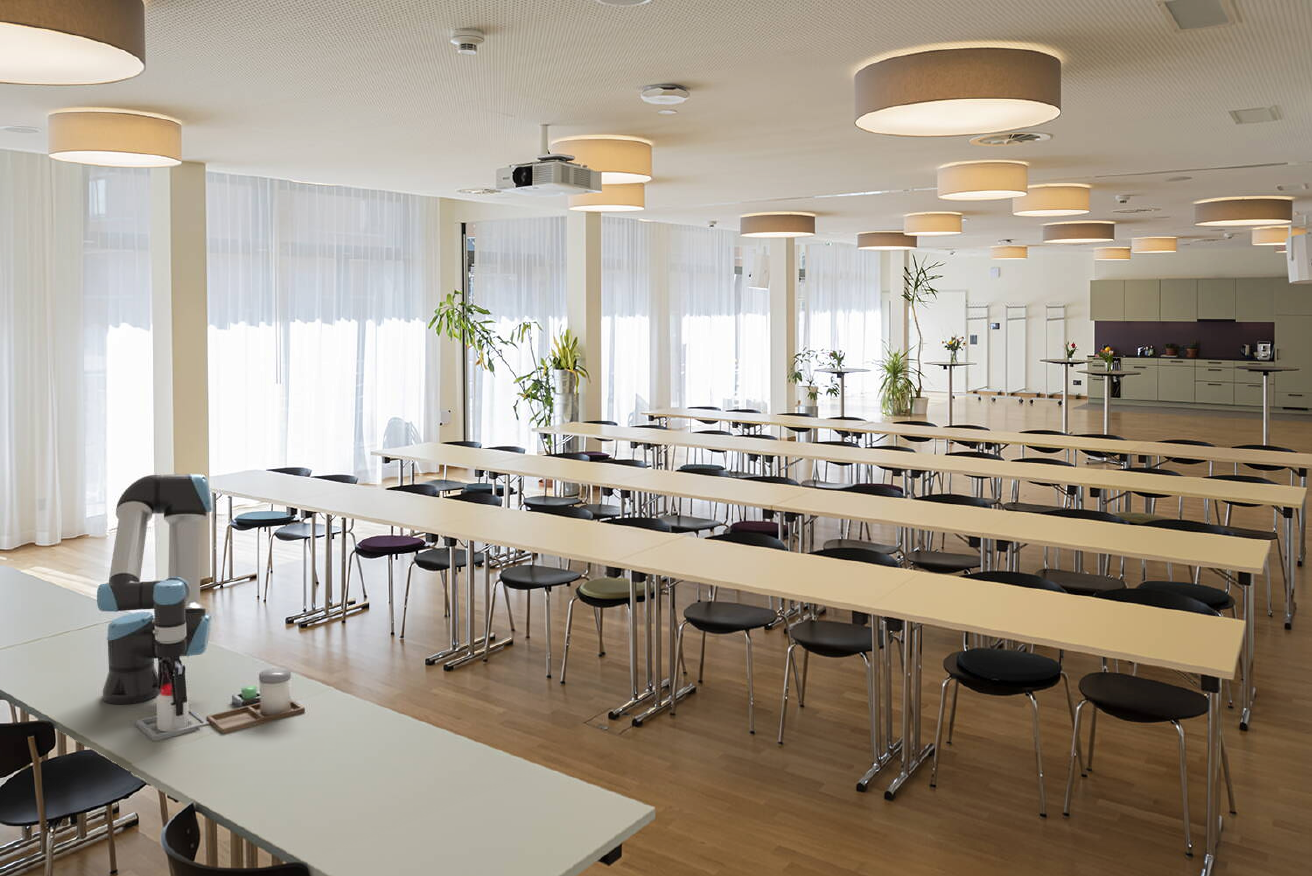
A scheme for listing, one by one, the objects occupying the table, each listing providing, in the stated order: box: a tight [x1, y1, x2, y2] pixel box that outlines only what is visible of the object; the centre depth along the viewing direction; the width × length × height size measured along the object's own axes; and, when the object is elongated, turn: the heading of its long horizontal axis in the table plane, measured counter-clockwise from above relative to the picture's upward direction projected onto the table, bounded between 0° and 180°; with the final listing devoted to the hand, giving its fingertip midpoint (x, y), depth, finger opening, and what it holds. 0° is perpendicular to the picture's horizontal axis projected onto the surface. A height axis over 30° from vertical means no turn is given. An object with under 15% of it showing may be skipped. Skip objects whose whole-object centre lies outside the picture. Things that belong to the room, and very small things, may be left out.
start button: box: [241, 685, 258, 700], centre depth 282 cm, size 4×4×4 cm
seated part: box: [258, 667, 292, 716], centre depth 276 cm, size 8×8×11 cm
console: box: [231, 689, 260, 708], centre depth 282 cm, size 7×7×3 cm
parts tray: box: [135, 707, 211, 742], centre depth 267 cm, size 14×14×1 cm
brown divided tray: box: [205, 698, 306, 735], centre depth 273 cm, size 12×22×2 cm, turn 134°
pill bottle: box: [155, 683, 190, 732], centre depth 267 cm, size 8×8×11 cm
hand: (172, 721), depth 267 cm, fingers closed on pill bottle, 8 cm apart
